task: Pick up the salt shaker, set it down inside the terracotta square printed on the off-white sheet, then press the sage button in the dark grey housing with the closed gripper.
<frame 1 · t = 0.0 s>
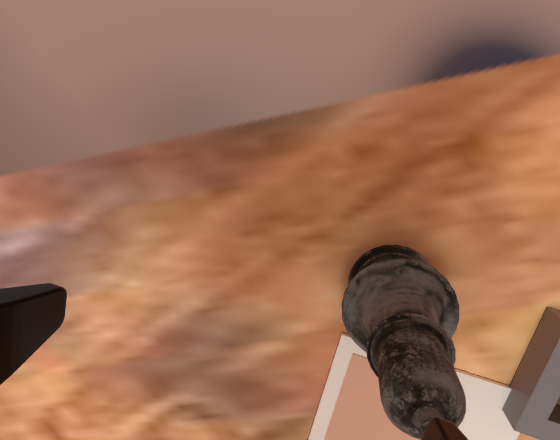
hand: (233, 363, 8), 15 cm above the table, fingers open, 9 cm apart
sheet: (404, 437, 24), on the table
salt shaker: (391, 285, 22), on the table
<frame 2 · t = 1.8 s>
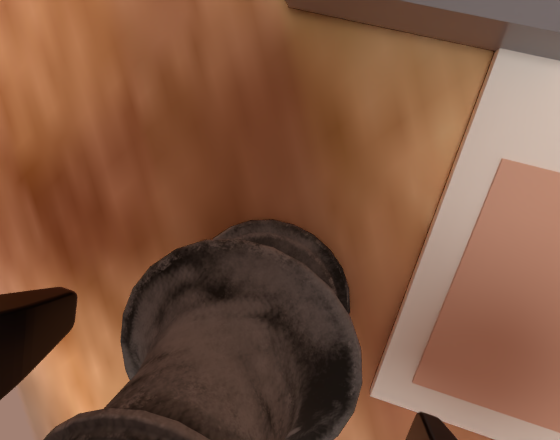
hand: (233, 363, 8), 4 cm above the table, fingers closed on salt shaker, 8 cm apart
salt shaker: (269, 295, 12), on the table, touching gripper
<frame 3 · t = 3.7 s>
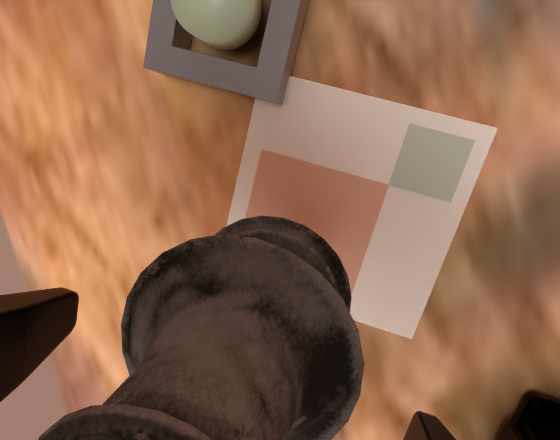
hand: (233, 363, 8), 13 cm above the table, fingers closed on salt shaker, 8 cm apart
button housing: (235, 20, 19), on the table
done button: (217, 1, 16), point 3 cm above the table, slide at 0.0 cm
sheet: (340, 209, 20), on the table
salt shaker: (270, 292, 12), point 9 cm above the table, touching gripper
when the fingers open (5 cm above the table, at t = 6.0 s): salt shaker stays where it is, resting on sheet.
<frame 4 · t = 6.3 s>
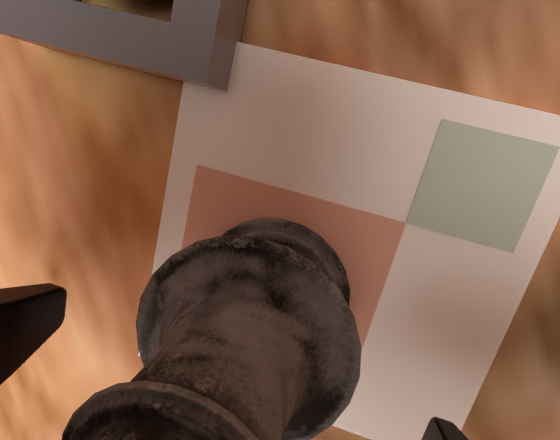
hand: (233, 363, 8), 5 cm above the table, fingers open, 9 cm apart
sheet: (326, 259, 12), on the table
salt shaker: (273, 290, 13), resting on sheet
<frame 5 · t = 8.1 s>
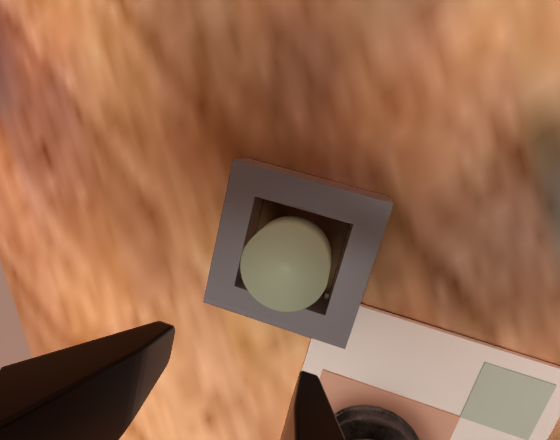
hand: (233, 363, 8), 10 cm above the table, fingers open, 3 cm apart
button housing: (297, 244, 18), on the table
done button: (287, 262, 15), point 3 cm above the table, slide at 0.0 cm
sheet: (405, 428, 19), on the table
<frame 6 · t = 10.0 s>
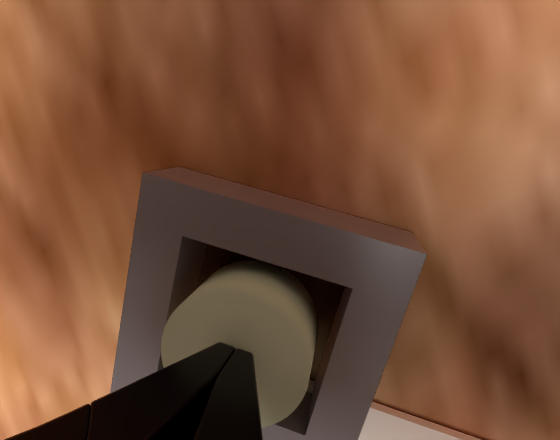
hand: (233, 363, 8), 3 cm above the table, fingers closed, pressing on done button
button housing: (263, 305, 11), on the table
done button: (244, 339, 9), point 2 cm above the table, slide at 0.7 cm, touching gripper
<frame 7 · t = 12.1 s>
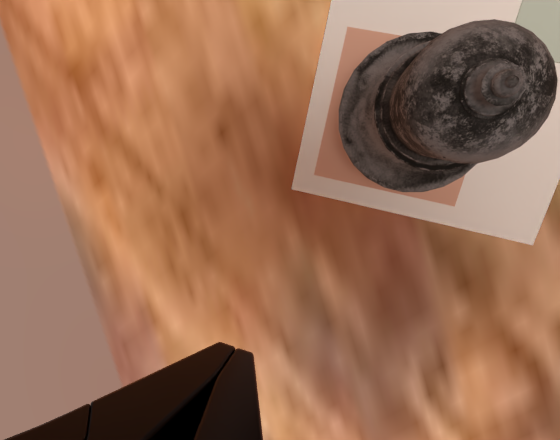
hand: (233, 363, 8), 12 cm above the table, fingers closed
sheet: (442, 93, 17), on the table
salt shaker: (402, 120, 17), resting on sheet
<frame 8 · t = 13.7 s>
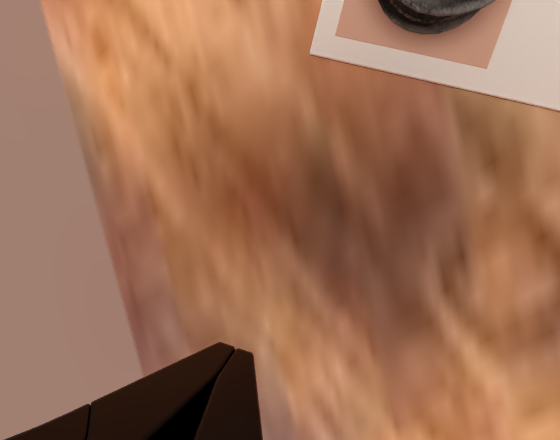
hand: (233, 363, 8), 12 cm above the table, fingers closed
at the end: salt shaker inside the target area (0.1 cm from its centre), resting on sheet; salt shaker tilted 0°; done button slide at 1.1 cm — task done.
